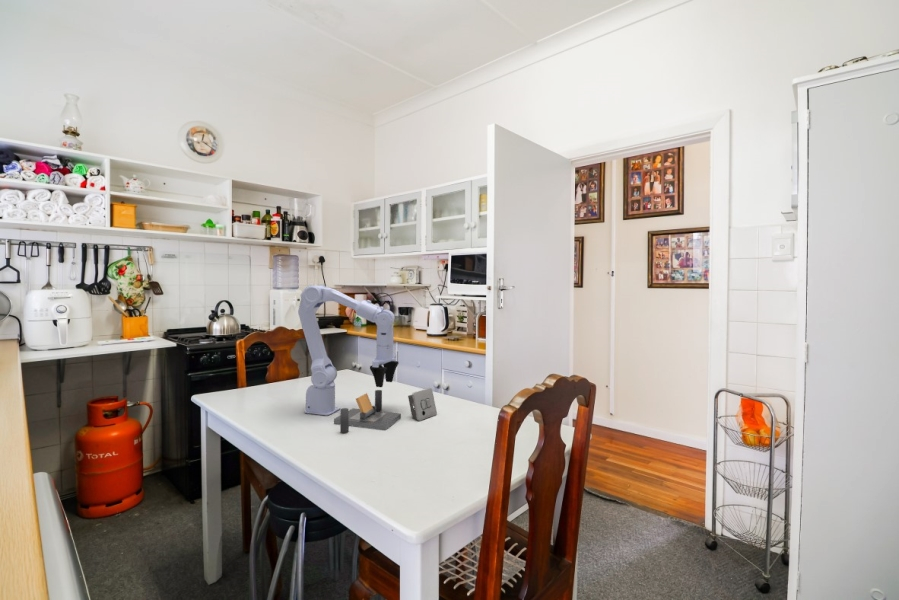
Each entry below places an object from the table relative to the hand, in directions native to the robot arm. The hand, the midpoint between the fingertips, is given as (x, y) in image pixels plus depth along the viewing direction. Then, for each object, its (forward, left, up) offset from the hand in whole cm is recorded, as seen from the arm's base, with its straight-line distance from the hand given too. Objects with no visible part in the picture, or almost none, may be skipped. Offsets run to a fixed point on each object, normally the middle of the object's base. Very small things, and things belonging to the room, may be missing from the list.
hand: (384, 384), depth 150 cm
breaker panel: (-1, -9, -10) cm, 14 cm away
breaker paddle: (-1, -9, -8) cm, 12 cm away
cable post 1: (-3, -21, -10) cm, 23 cm away
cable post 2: (-3, +2, -10) cm, 11 cm away
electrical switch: (+14, +1, -10) cm, 17 cm away
